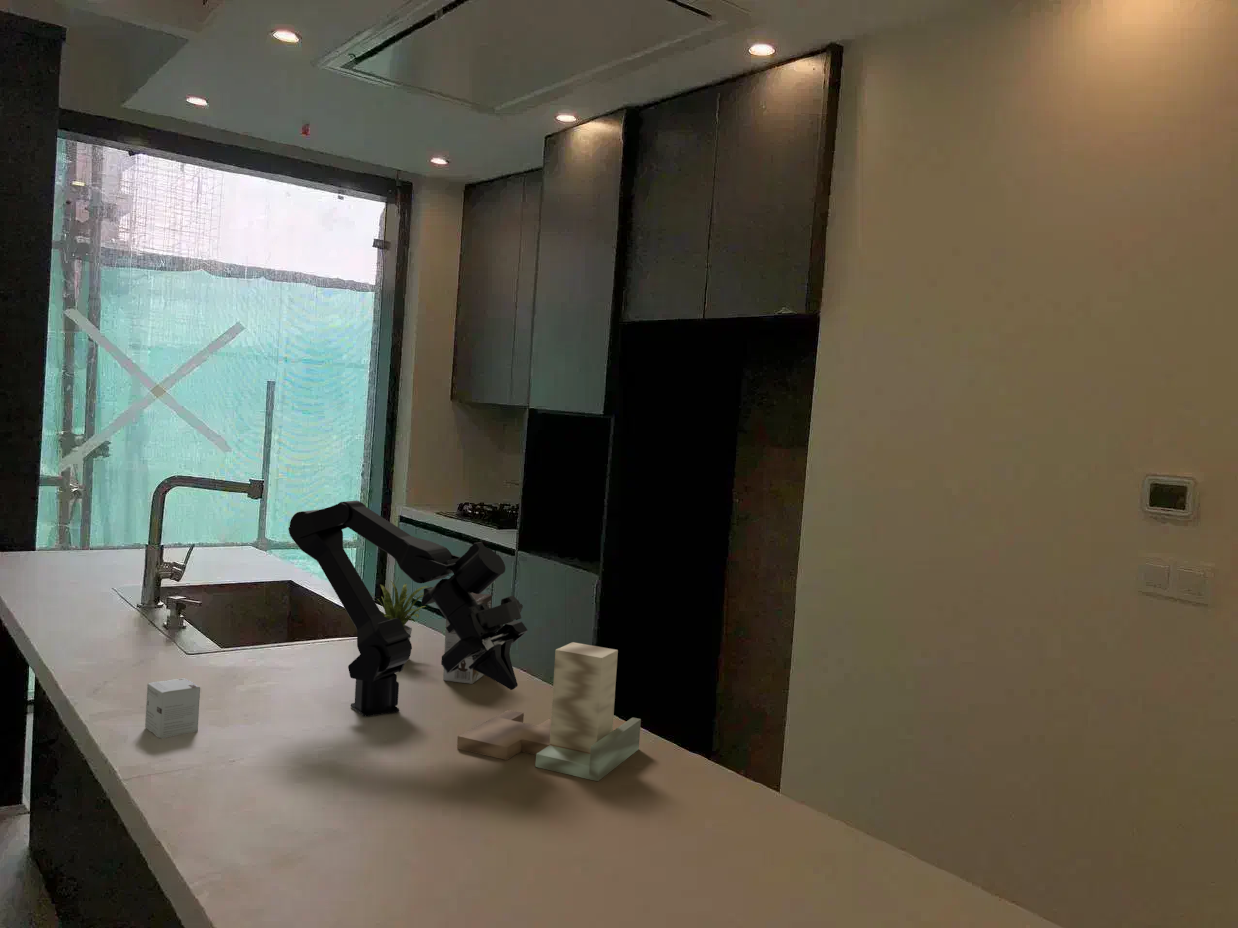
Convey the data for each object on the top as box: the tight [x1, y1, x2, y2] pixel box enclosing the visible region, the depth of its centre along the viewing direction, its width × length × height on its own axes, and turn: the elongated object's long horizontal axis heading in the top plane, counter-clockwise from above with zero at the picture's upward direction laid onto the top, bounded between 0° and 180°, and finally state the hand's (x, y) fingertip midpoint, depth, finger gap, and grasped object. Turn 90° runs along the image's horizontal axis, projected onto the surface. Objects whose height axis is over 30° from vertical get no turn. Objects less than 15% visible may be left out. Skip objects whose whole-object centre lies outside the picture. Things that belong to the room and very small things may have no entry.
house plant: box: [369, 579, 430, 640], centre depth 204 cm, size 14×14×16 cm
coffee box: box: [442, 593, 493, 685], centre depth 193 cm, size 9×6×16 cm
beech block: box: [550, 641, 619, 753], centre depth 154 cm, size 8×6×15 cm
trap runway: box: [456, 709, 642, 782], centre depth 156 cm, size 24×16×5 cm, turn 67°
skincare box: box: [144, 677, 201, 739], centre depth 154 cm, size 6×6×7 cm
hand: (514, 687), depth 159 cm, fingers closed
